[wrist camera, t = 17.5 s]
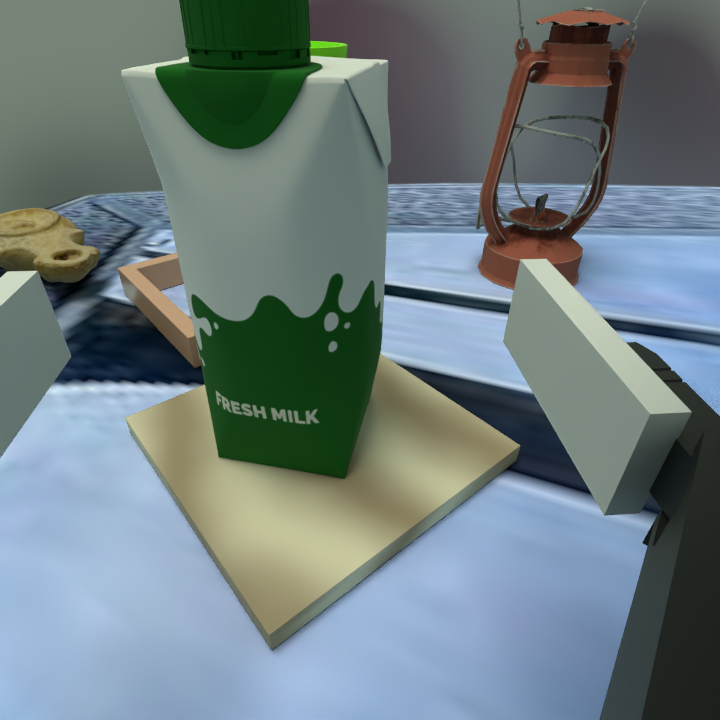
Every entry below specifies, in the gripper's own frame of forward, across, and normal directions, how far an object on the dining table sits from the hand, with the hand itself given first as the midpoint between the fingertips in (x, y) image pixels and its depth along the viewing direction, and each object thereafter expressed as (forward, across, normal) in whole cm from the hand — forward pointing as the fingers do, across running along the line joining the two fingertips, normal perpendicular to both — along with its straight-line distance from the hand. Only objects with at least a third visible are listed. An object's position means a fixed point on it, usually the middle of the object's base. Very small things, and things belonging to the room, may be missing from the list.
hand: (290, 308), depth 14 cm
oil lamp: (+34, -25, -14) cm, 44 cm away
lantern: (+31, +21, -14) cm, 40 cm away
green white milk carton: (+9, -1, -13) cm, 16 cm away
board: (+8, 0, -14) cm, 16 cm away
